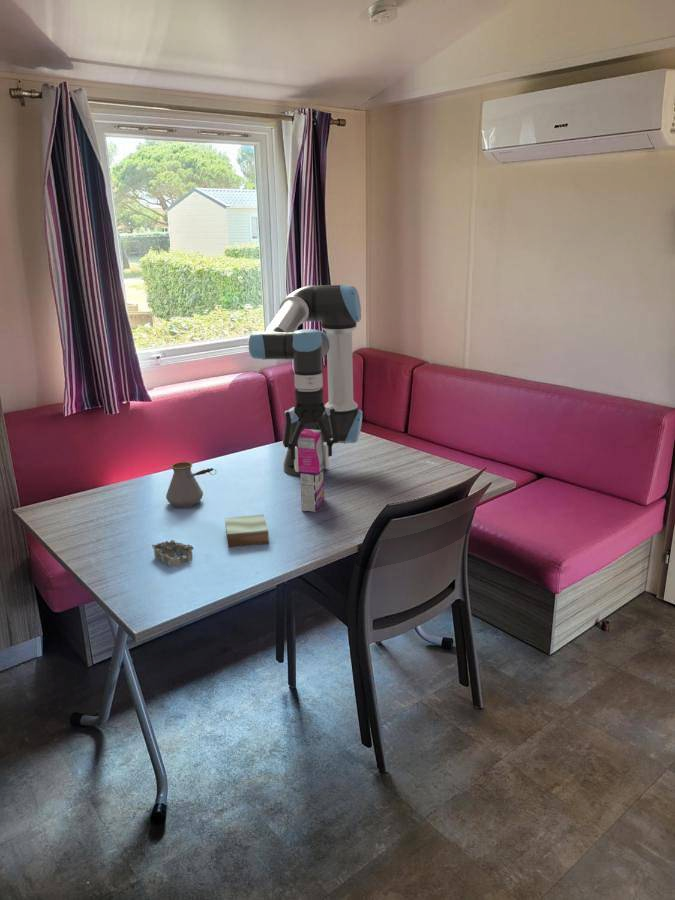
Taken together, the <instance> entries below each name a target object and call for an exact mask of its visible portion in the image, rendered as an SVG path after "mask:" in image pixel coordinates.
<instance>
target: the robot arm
mask: <svg viewBox="0 0 675 900" xmlns="http://www.w3.org/2000/svg"><path fill="white" fill-rule="evenodd" d="M361 306H362V305H361V299H360V295H359V292H358V290H357V288H356V286H354V285H346V284H326V285H325V284H323V285H315V284H313V285H311V284H310V285H306V286H302V287H300V288H298V289H296V290H294V291H293V292H291V293H289V294H288V295H287V296H285V297H284V298H283V300H282V301H281V303H280V304H279V310H278V312H277V313H276V315H275V316H274V317H273V318H272V321H270V323H269V324H268V326H267V327H266V328H265V330H264V331H254V332H251V334H250V336H249V338H248V351H249V355H250V357H252V358H253V359H255V360H263V361H264V360H293V371H294V373H293V376H294V388H295V390H294V399H295V401H294V403H295V405H294V406H293V407H290V408H289V409H286V410H284V413H283V414H284V417H285V422H284V428H283V429H284V431H283V437H282V444H283V447H284V448H287V450H286V454H285V457H284V461H283V472H285V474H288V475H291V476H299V477H300V473H299V467H298V449H297V441H298V438H299V435H300V433H301V431H303V430H304V429H313V430H321V432H322V434H323V441H324V462H325V469H324V470H323V472H324V471H325V470H329V469H330V467H329V465H330V463H329V457H332V456H333V446H334V445H335V444H344V445H345V444H354V443H357V442H358V440H359V438H360V435H361V430H362V425H363V423H362V422H363V410H361V409H359V407H358V405H359V404H358V403H357V402H356V401H355V400H354V373H353V372H354V369H353V368H354V365H353V360H354V359H353V331H355V329H356V328H357V323H359V322H361V321H362V320H361V319H362V307H361ZM306 322H315V323H317V322H319V323H320V322H321V324H320V325H321V329H323V330H319V329H314V328H313V329H312V328H305V329H298V327H300V325H302V324H304V323H306ZM325 356H327V357H326V361H327V363H326V364H327V366H326V367H327V390H328V391H327V395H328V398H327V399H328V401H327V402H326V403H325V404H324V390H323V387H324V383H323V382H324V381H323V358H325Z"/></svg>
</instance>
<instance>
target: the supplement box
mask: <svg viewBox="0 0 675 900" xmlns="http://www.w3.org/2000/svg"><path fill="white" fill-rule="evenodd" d="M324 444H325V442H324V441H323V434H322V432H321V430H313V429H304V430H303V431H301V433H300V435H299V438H298V441H297V449H298V467H299V473H301V474H309V475H318V474H320V473H321V472H322V471H323V470H324V469H325V462H324ZM325 470H326V469H325ZM325 470H324V471H325ZM324 471H323V472H324Z"/></svg>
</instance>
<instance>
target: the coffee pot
mask: <svg viewBox="0 0 675 900" xmlns="http://www.w3.org/2000/svg"><path fill="white" fill-rule="evenodd" d="M192 467H193V463H192V462H189V461H180V462H175V463H173V464H171V467H170V468H171V469H172V470H173V474H172V476H171V480H170V483H169V486H168V489H167V492H166V495H165V498H166V500H167V502H168V503H169V504H170V505H172V506H174V508H177V509H178V508H179V509H185V508H186V509H187V508H191V507H194V506H196V505H197V504H198V503H199V502H200V501H201V499H202V498H203V496H204V491H203V490H202V488H201V486H200V485H199V482H198V481H197V479H196V476H200V475H205V474H207V473H209V474H210V475H211V476H214V475H216V474H217V470H216V469H215V468H213V467H211V468H207V469H202V470H200V471H197V472H194V473H193V472H192V471H191V470H192ZM213 470H214V471H215V472H214V474H212V471H213Z"/></svg>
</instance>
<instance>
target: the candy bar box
mask: <svg viewBox="0 0 675 900" xmlns="http://www.w3.org/2000/svg"><path fill="white" fill-rule="evenodd" d="M299 481H300V482H299V483H300V497H301V498H300V499H301V500H300V502H301V512H303V511H310V512H309V513H317V512H318V510H319V508H320V507H321V505H322V503H323V502H324V500H325V491H324V489H325V488H324V487H325V486H324V471H322V472H321V473H320V474H318V475H309V474H301V473H300V476H299Z"/></svg>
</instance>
